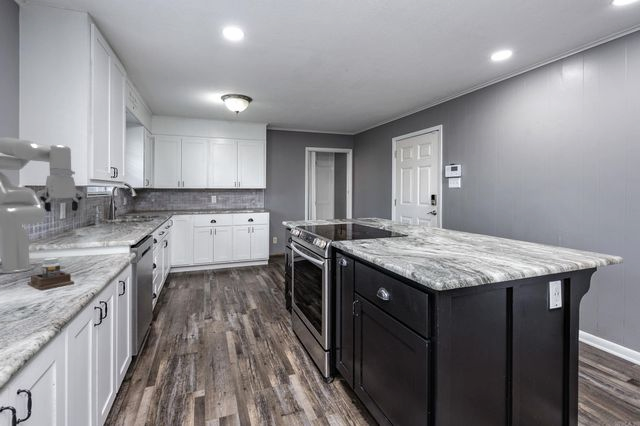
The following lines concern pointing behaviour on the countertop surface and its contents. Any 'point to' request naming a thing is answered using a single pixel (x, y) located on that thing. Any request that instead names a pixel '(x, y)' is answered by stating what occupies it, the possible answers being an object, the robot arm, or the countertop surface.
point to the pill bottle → (50, 268)
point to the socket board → (50, 281)
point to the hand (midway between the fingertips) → (61, 211)
